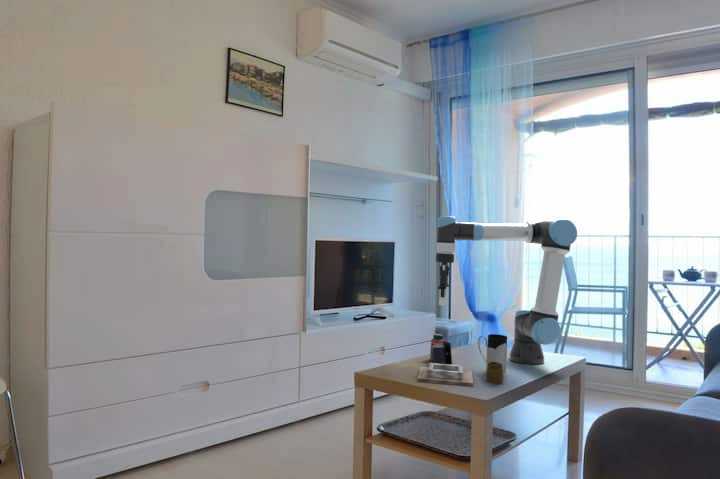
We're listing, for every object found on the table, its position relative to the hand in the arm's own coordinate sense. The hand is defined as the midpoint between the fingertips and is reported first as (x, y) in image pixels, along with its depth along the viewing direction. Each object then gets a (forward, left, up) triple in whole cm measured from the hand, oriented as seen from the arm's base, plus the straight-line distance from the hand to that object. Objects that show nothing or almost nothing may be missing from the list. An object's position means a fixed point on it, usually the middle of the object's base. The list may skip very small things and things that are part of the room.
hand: (443, 303), depth 226 cm
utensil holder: (-20, +21, -26) cm, 39 cm away
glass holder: (-20, +4, -26) cm, 33 cm away
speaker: (0, +1, -26) cm, 26 cm away
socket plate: (-2, +21, -26) cm, 34 cm away
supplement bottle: (+2, -10, -26) cm, 28 cm away
